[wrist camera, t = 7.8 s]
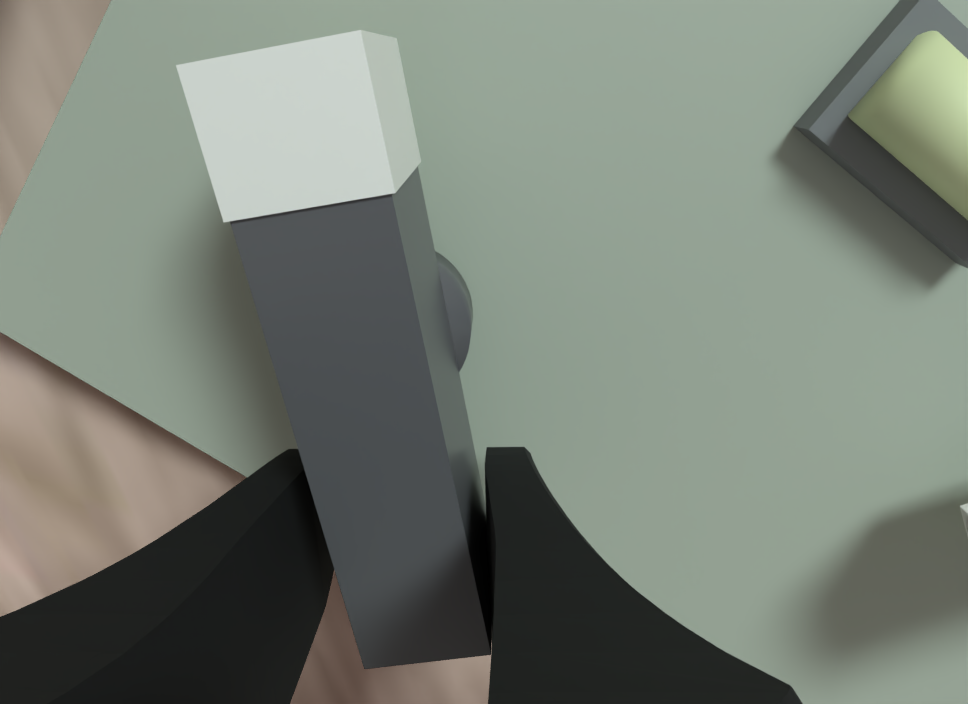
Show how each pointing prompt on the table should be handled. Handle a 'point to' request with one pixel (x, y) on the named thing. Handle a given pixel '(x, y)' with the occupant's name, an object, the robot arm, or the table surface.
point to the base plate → (601, 289)
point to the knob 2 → (965, 515)
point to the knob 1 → (357, 328)
